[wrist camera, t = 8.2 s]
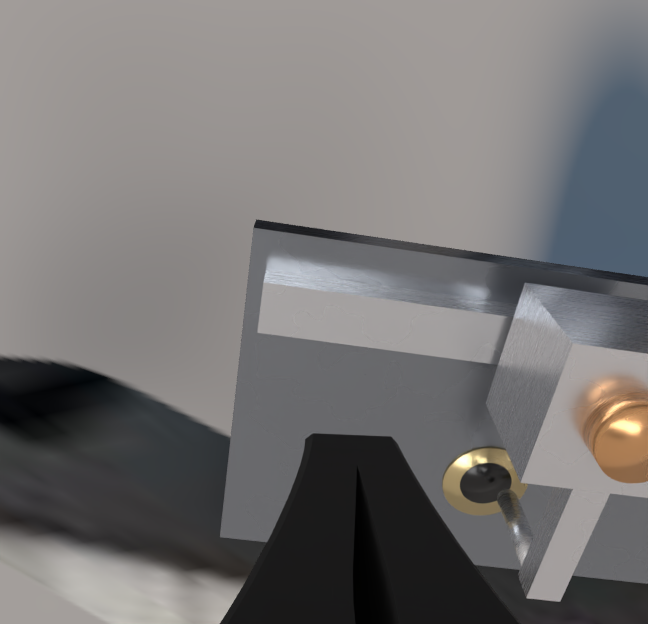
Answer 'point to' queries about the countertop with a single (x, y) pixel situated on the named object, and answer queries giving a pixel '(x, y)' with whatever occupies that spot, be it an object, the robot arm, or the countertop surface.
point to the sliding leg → (570, 421)
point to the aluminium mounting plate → (398, 381)
